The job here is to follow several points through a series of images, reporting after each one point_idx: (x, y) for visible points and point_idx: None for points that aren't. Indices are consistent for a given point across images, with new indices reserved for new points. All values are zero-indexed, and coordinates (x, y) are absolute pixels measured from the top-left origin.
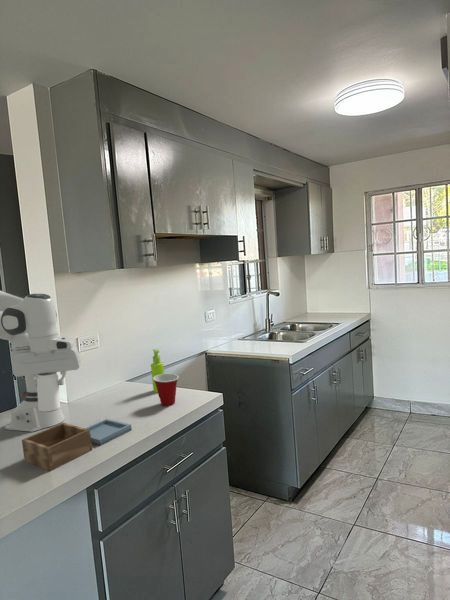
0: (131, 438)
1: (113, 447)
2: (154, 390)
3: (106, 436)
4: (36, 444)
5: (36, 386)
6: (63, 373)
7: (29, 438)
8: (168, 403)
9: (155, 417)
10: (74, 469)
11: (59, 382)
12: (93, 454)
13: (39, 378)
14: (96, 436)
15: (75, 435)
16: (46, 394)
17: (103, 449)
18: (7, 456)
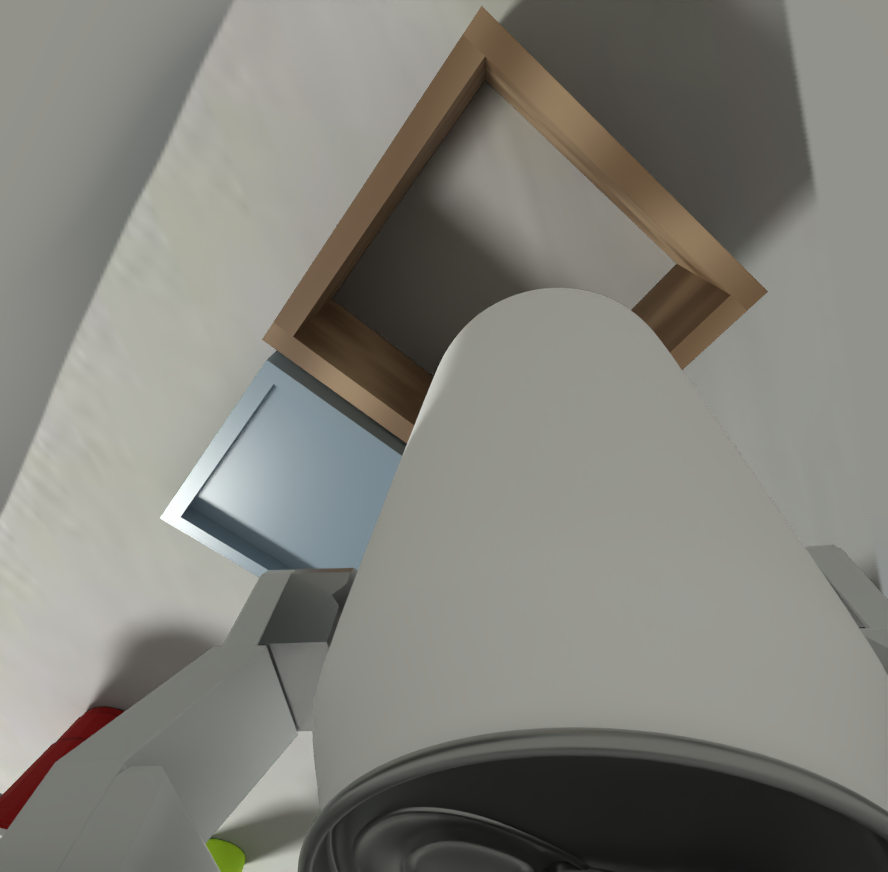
0: (129, 397)
1: (187, 305)
2: (232, 854)
3: (243, 400)
4: (616, 150)
5: (817, 563)
6: (64, 798)
7: (708, 314)
8: (91, 715)
9: (110, 607)
10: (321, 29)
11: (305, 602)
12: (276, 237)
13: (821, 662)
14: (333, 452)
15: (335, 257)
16: (545, 364)
17: (239, 293)
18: (829, 351)
